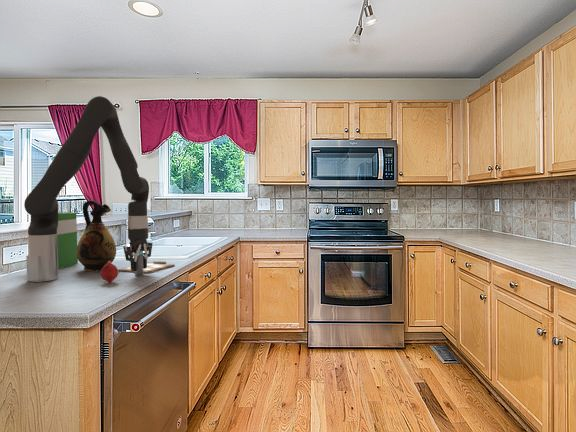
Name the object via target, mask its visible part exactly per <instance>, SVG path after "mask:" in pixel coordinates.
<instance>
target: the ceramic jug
mask: <svg viewBox="0 0 576 432" xmlns="http://www.w3.org/2000/svg"><path fill="white" fill-rule="evenodd" d="M89 206H93V209H92V210H90V213H89ZM111 211H112V209H111V208H110V206H109V205H108V204H106V203H105V204H103V205H102V203H98V201H96V200H94V199H91V200H90V199H89V200H86V201H85V202H84V204H83V205H82V213H83V214H82V215H83V217H84V221H85V228H84V232H83V233H82V235H81V236H80V238H79V241H78V242H77V258H78V263H80V264H81V265H82V266H83V270H85V271H86V272H101V269H102V268H103V267H104V265H106V264H107V263H108V262H109V261H111V264H113V262H114V260H115V259H116V256H117V245H116V243H115V239H114V237H113V236H112V234H111V232H110V231H109V229H108V228H107V226H106V225H105V224H104V222H103V220H102V216H103V215H105V214H107V213H110V212H111ZM90 215H91V216H92V220H91V217H90Z"/></svg>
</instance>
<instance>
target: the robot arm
mask: <svg viewBox="0 0 576 432" xmlns="http://www.w3.org/2000/svg"><path fill="white" fill-rule="evenodd" d="M100 128H101V129H102V131H103V132H104V133H105V136H106V138H107V141H108V143H109V147H110V150H111V154H112V156H113V159H114V161H115V163H116V165H117V167H118V169H119V173H120V177H121V181H122V184H123V186H124V188H125V190H126V191H127V193H128V194H131V199H130V201H129V202H128V205H127V212H128V215H127V239H128V240H129V243H128V245H124V246H123V247H122V248H123V251H124V253H123V254H124V257H125V260H126V261H127V262H128V261H129V263H130V266H131V271H137V262H136V260H137V256H139V252H140V251H142V250H143V269H146V268H147V262H148V259H149V258H150V257H151V256H152V251H153V242H151V241H150V242H148V239H149V218H148V200H149V193H150V185H149V182H148V180H147V179H146V178H144V177H143V176H140V174H139V172H138V167H139V165H138V163H137V161H136V158H135V156H134V154H133V152H132V148H131V147H130V145H129V143H128V141H127V139H126V137H125V135H124V132H123V129H122V126H121V124H120V120H119V115H118V111H117V108H116V106H115V105H114V104H113V103H112V102H111V100H109V99H108V98H107V97H105V96H102V95H98V96H94V97H92V98H91V99H89V101H88V102H87V104H86V106H85V108H84V110H83V113H82V114H81V116H80V117H79V119H78V121H77V124H76V125H75V126H74V128H73V129H72V131H71V132H70V134H69V135H68V136H67V138H66V139H65V141H64V143H63V144H62V145H61V147H60V148H59V150H58V151H57V153H56V154H55V156H54V158H53V159H52V161H51V163H50V164H49V166H48V168H47V170H46V171H45V173H44V175H43V177H41V179H40V181H39V182H38V183H37V184H36V185H35V186H34V188H33V189H32V190H31V192H30V193H28V195H27V196H26V198H25V200H24V203H23V205H24V209H25V210H24V211H26V213H27V214H29V215H30V223H29V225H28V228H27V235H28V237H27V238H28V239H27V241H28V254H27V255H26V256H25V258H26V281H27V282H35V283H40V282H47V281H48V282H49V281H54V280H57V279H59V269H58V248H57V227H58V213H59V203H58V198H57V197H58V196H59V195H60V193H61V191H62V189H63V187H64V186H66V184H68V182H69V181H70V180H71V179H72V178H73V177H75V175H76V174H77V173H78V172H79V171H80V170H81V168H82V167H83V165H84V164H85V162H86V160H87V159H88V157H89V155H90V153H91V149H92V146H93V142H94V139H95V136H96V134H97V133H98V131H99V129H100Z"/></svg>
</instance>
